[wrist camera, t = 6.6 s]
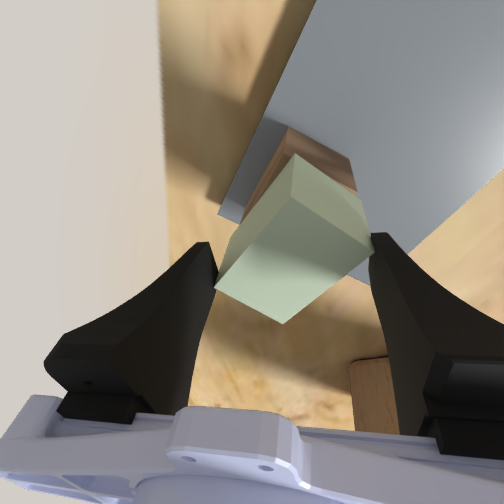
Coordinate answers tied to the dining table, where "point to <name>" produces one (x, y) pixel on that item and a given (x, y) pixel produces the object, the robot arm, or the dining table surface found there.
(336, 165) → the walnut brick
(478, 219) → the dining table surface
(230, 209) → the baseplate
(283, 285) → the green brick
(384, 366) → the block
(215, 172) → the dining table surface
